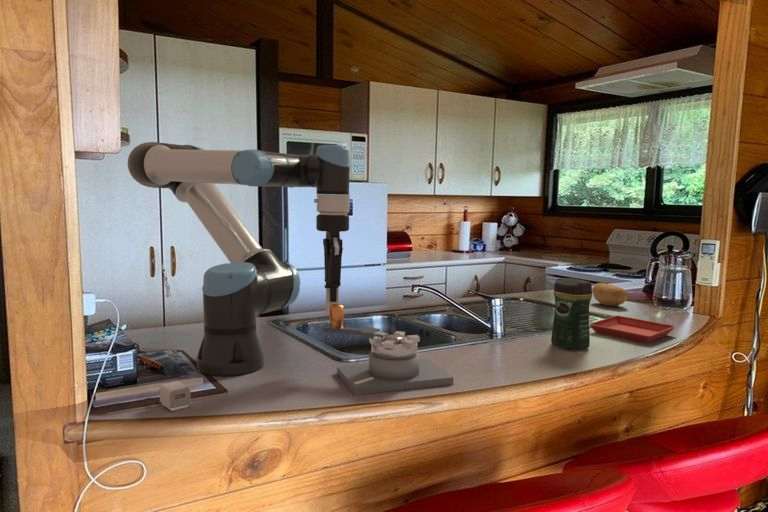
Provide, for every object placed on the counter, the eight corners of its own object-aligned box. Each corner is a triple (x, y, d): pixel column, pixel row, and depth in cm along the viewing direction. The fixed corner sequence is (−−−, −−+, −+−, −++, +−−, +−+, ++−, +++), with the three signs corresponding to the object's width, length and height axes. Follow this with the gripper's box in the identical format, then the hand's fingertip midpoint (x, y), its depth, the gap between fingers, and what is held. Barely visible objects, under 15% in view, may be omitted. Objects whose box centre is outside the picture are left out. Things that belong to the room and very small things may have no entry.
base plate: (354, 394, 112) (354, 368, 112) (336, 373, 125) (337, 349, 125) (453, 384, 120) (454, 359, 119) (426, 364, 133) (427, 342, 132)
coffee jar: (594, 349, 149) (598, 280, 147) (574, 353, 145) (578, 282, 143) (565, 340, 157) (569, 275, 155) (545, 344, 153) (549, 277, 151)
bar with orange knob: (422, 348, 126) (423, 307, 125) (411, 362, 115) (412, 317, 114) (334, 340, 132) (335, 300, 130) (316, 352, 121) (316, 309, 120)
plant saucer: (648, 347, 153) (649, 335, 153) (587, 334, 167) (588, 323, 166) (675, 336, 165) (676, 325, 165) (616, 325, 179) (616, 315, 178)
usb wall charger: (169, 412, 102) (169, 391, 102) (154, 402, 107) (153, 381, 107) (190, 407, 105) (190, 386, 104) (174, 397, 110) (174, 377, 109)
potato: (615, 310, 200) (616, 288, 199) (585, 303, 213) (586, 282, 212) (634, 308, 204) (635, 286, 203) (603, 301, 217) (605, 280, 216)
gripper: (313, 212, 133) (312, 309, 136) (320, 214, 121) (319, 321, 124) (344, 212, 135) (343, 308, 138) (354, 215, 123) (353, 320, 125)
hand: (332, 314), depth 131 cm, fingers closed
